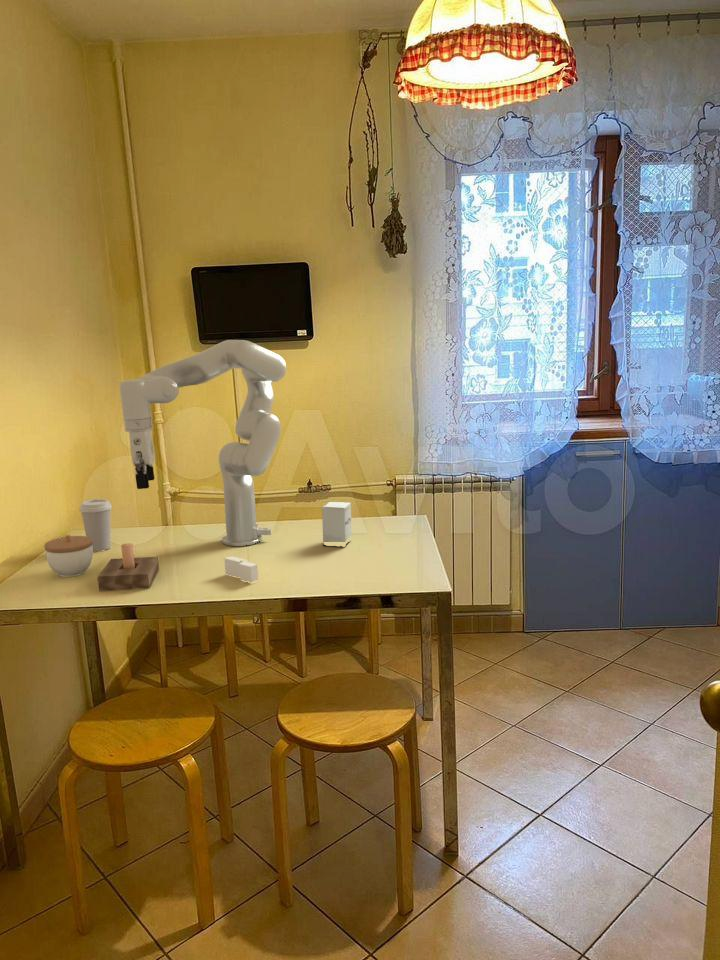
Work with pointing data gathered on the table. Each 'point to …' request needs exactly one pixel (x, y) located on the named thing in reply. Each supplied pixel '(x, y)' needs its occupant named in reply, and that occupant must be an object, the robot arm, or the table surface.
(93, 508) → the coffee cup
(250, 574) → the napkin holder
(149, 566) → the hole block
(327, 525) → the supplement box
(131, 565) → the peg
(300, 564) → the table surface
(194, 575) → the table surface
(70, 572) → the lidded bowl
